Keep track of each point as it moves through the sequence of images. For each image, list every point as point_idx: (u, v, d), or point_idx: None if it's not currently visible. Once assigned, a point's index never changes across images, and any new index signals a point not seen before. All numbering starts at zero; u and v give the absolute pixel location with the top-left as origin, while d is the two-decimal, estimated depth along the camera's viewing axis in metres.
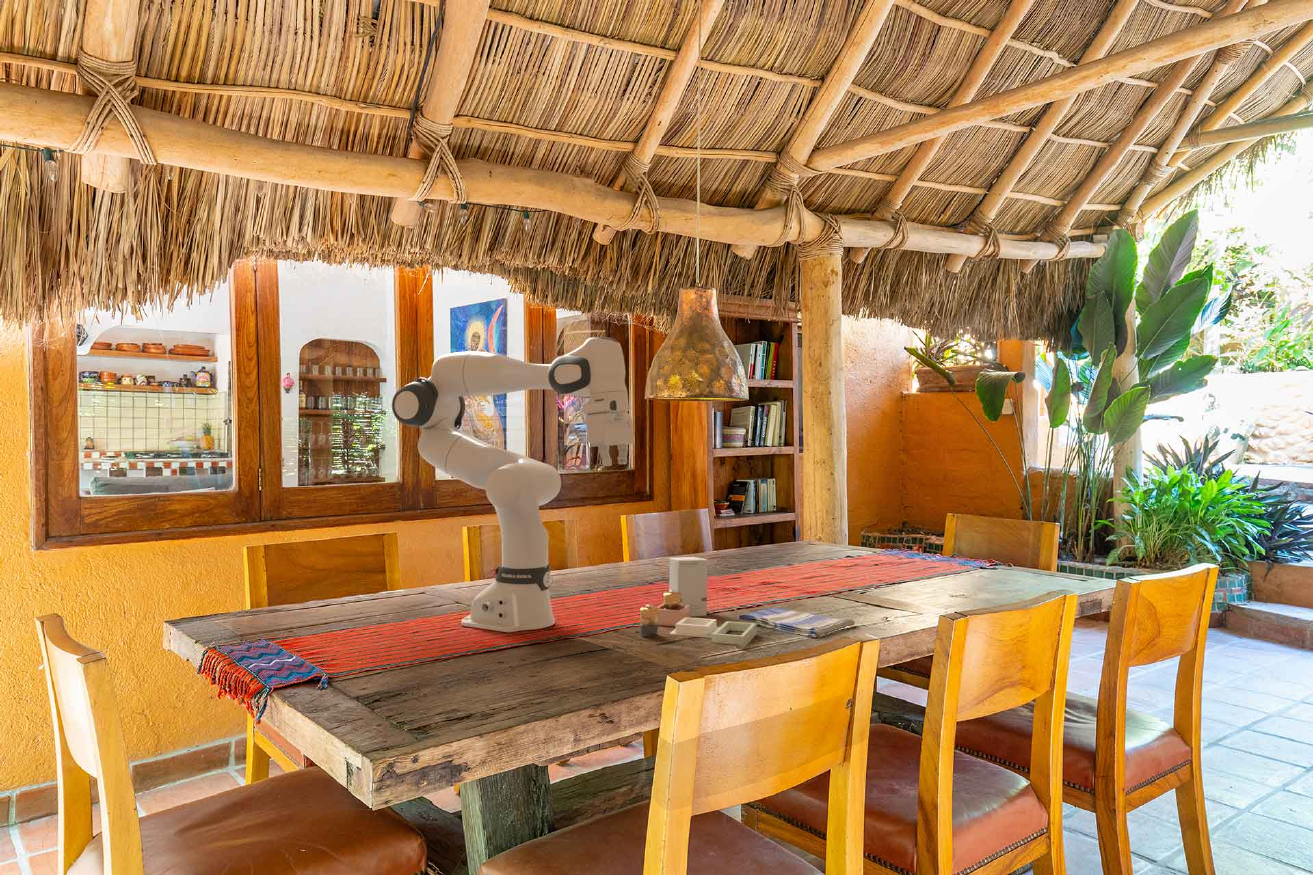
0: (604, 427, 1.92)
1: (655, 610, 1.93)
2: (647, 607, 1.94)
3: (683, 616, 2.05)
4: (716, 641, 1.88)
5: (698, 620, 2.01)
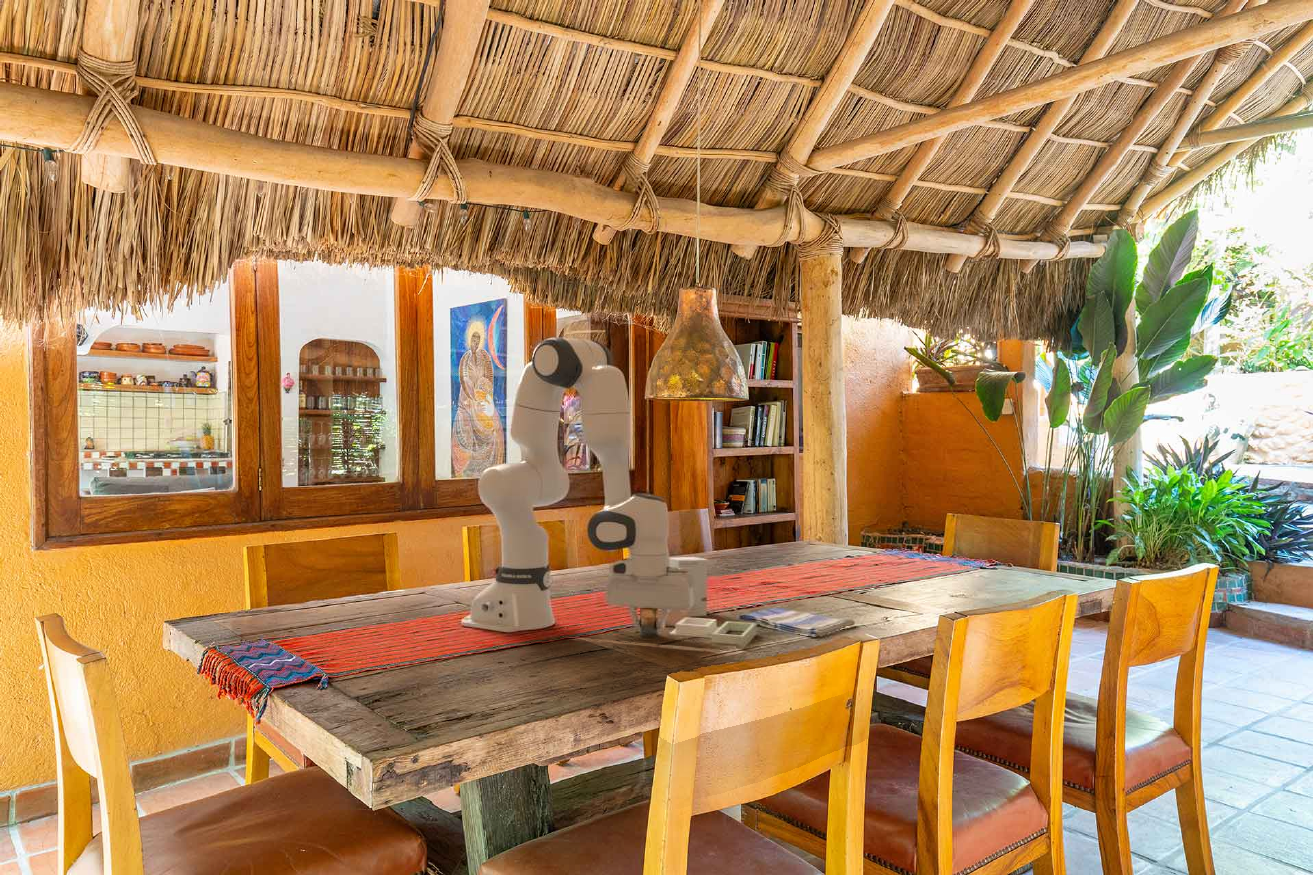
0: (606, 588, 1.96)
1: (655, 610, 1.93)
2: None
3: (683, 616, 2.05)
4: (716, 641, 1.88)
5: (698, 620, 2.01)
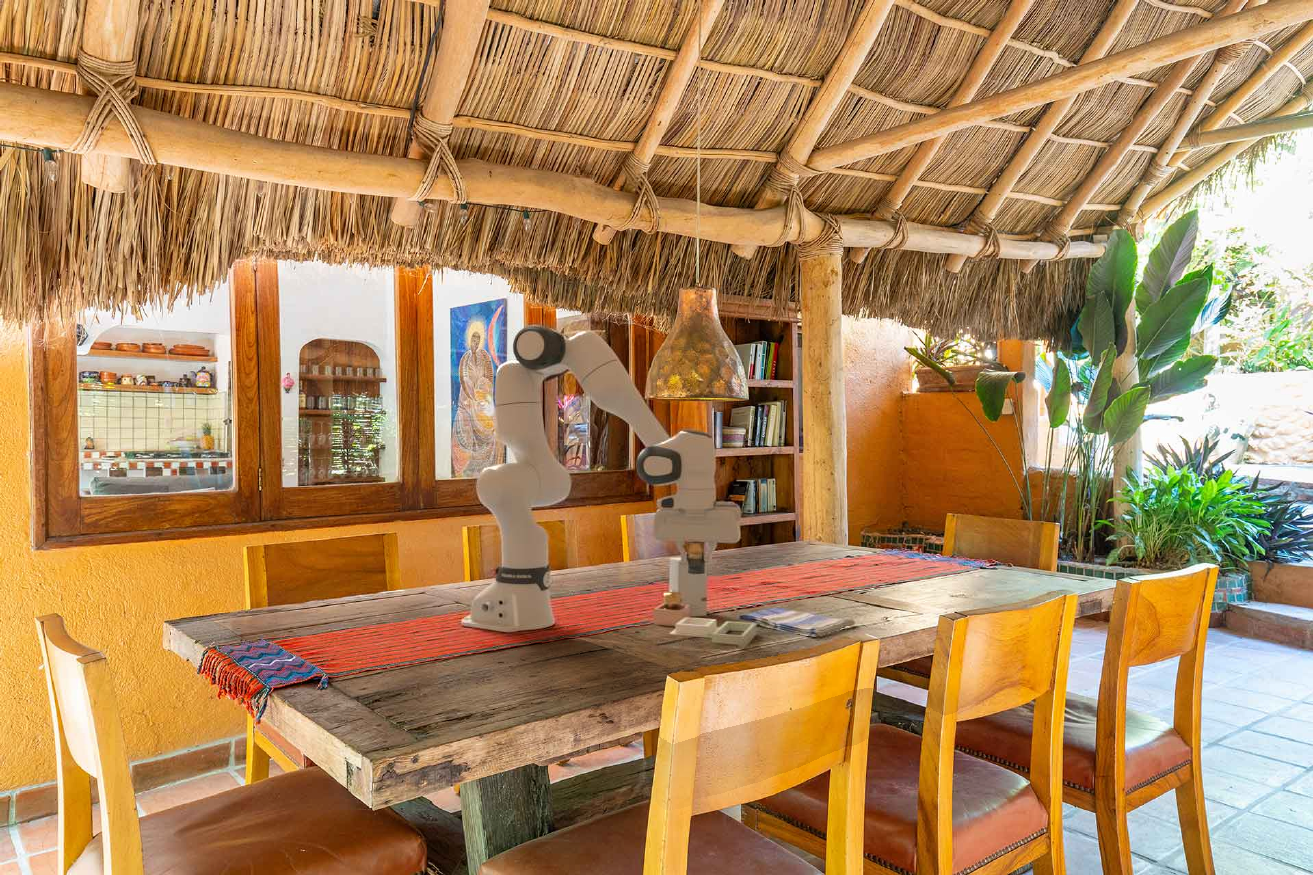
0: (654, 523, 1.99)
1: (702, 544, 1.97)
2: None
3: (683, 616, 2.05)
4: (716, 641, 1.88)
5: (698, 620, 2.01)
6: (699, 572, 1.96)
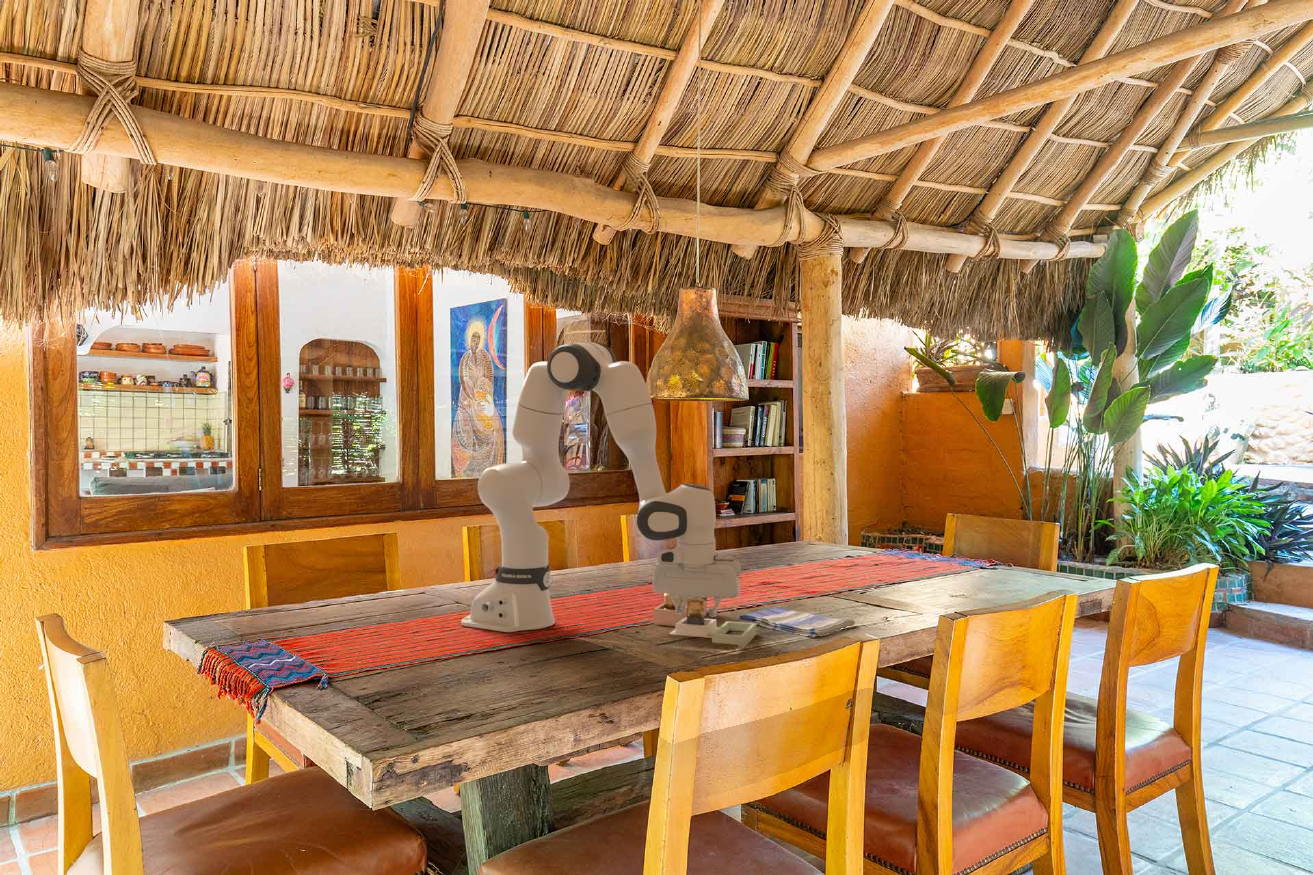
0: (654, 576, 1.99)
1: (702, 602, 1.97)
2: (694, 599, 1.98)
3: (683, 616, 2.05)
4: (716, 641, 1.88)
5: None
6: None
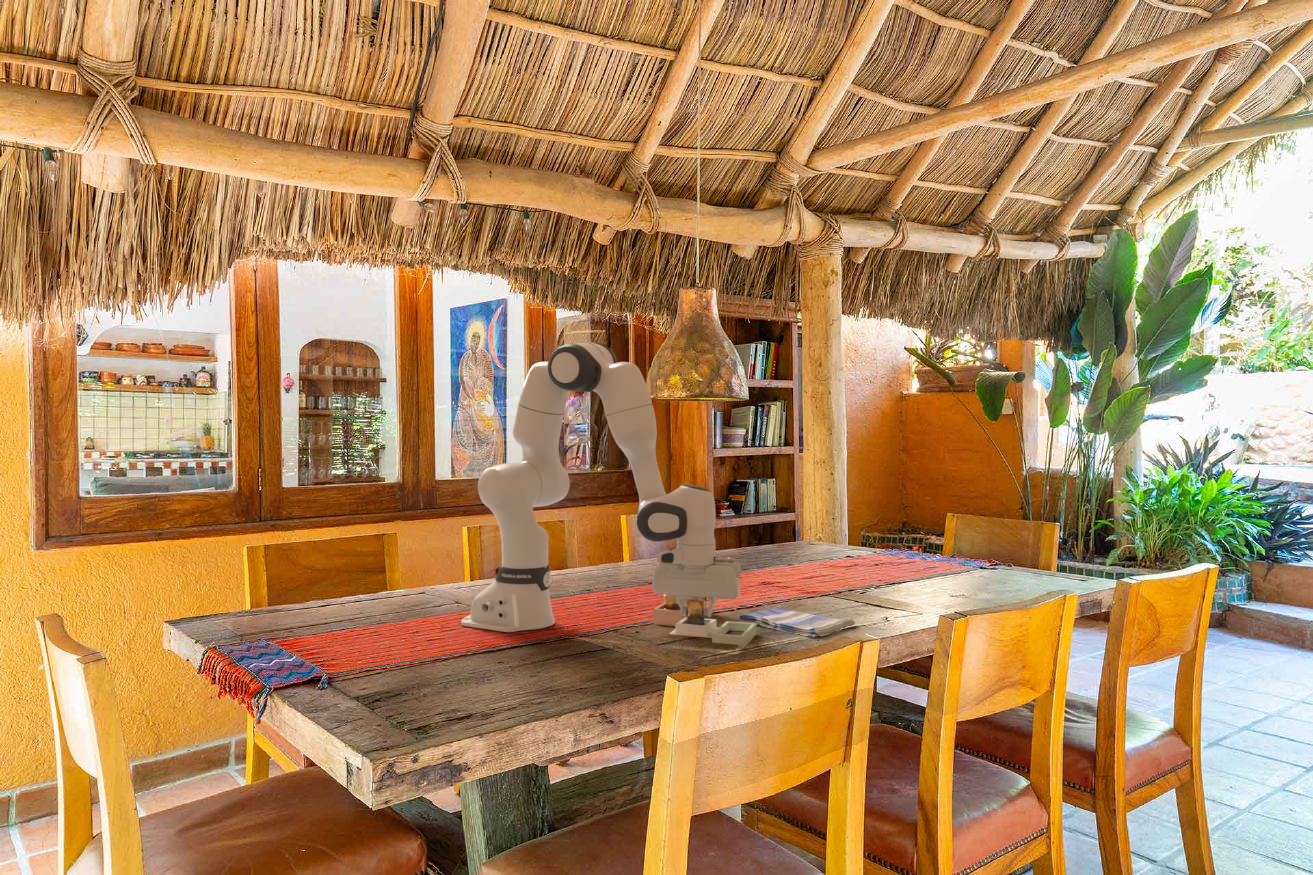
0: (654, 577, 1.99)
1: (702, 602, 1.97)
2: (694, 599, 1.98)
3: (683, 616, 2.05)
4: (716, 641, 1.88)
5: None
6: None
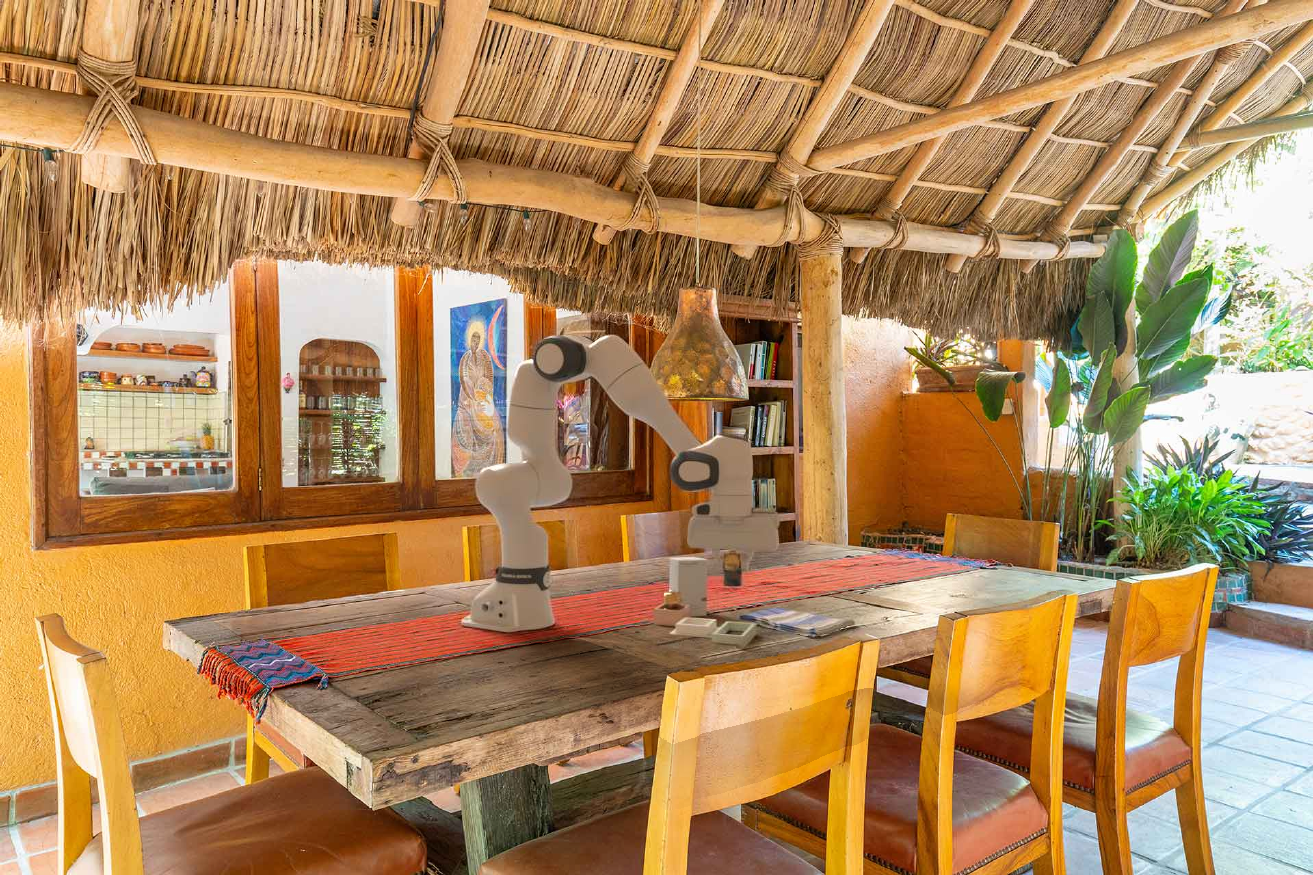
0: (689, 530, 1.92)
1: (739, 555, 1.90)
2: (731, 552, 1.91)
3: (683, 616, 2.05)
4: (716, 641, 1.88)
5: (698, 620, 2.01)
6: (736, 585, 1.90)
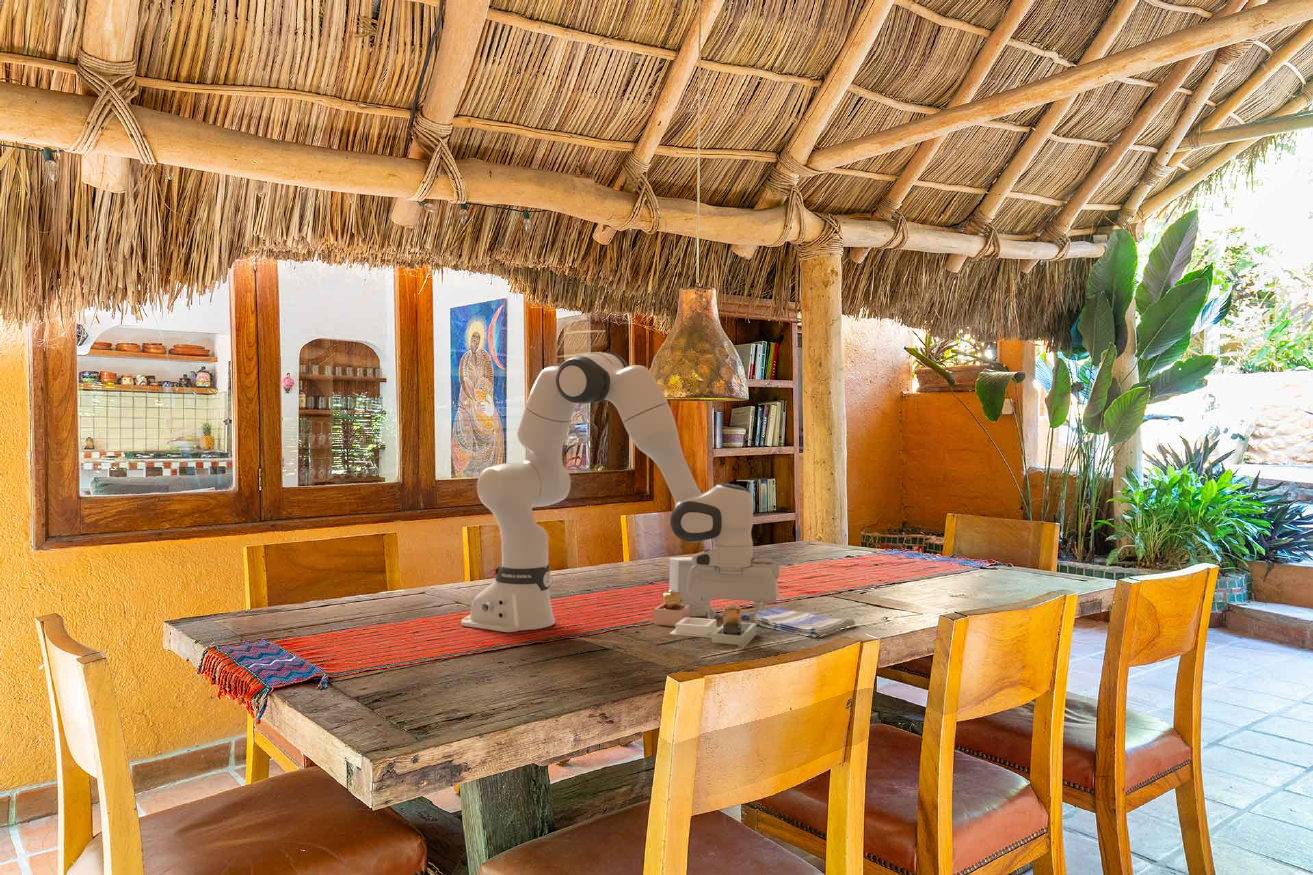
0: (688, 579, 1.93)
1: (739, 610, 1.90)
2: (730, 607, 1.91)
3: (683, 616, 2.05)
4: (716, 641, 1.88)
5: (698, 620, 2.01)
6: None
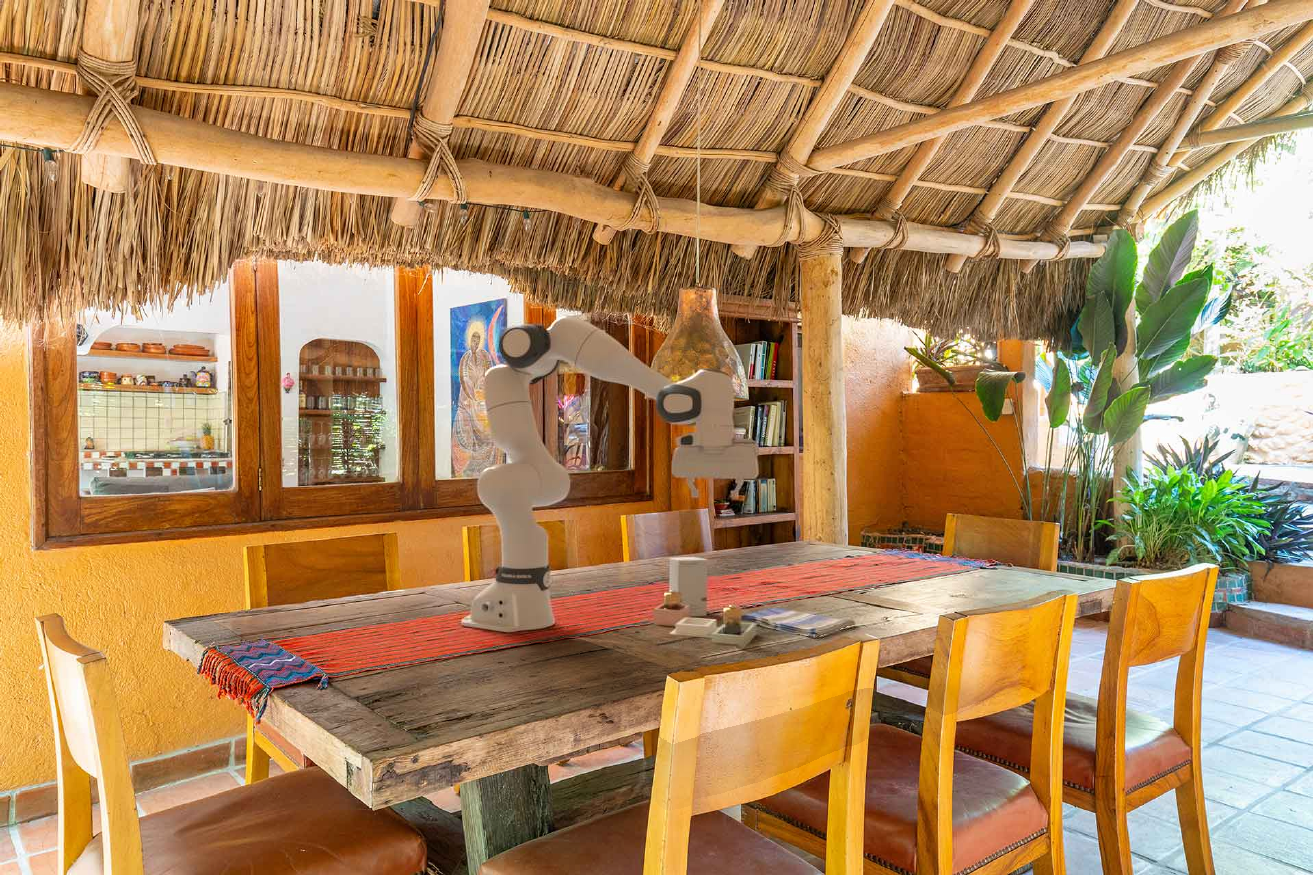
0: (673, 460, 2.03)
1: (739, 610, 1.90)
2: (730, 607, 1.91)
3: (683, 616, 2.05)
4: (716, 641, 1.88)
5: (698, 620, 2.01)
6: None
